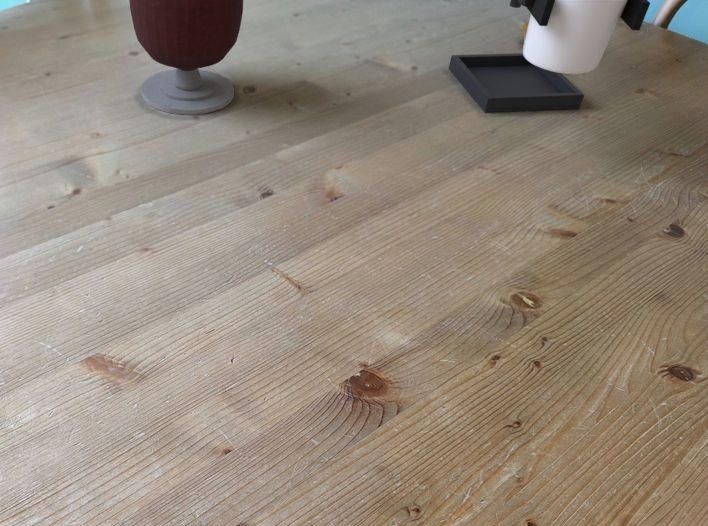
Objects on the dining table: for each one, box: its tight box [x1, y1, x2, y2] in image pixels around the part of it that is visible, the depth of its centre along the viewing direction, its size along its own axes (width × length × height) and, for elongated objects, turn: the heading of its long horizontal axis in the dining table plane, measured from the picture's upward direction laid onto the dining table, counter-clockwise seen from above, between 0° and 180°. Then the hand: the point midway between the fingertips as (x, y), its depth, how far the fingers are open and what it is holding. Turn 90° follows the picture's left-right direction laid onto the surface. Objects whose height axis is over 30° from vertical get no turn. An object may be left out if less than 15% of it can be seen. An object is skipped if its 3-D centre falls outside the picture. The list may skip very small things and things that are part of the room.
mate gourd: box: [128, 0, 244, 116], centre depth 92 cm, size 16×14×20 cm
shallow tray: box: [448, 52, 585, 113], centre depth 104 cm, size 14×14×2 cm
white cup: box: [522, 0, 628, 75], centre depth 80 cm, size 10×10×12 cm
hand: (594, 14), depth 76 cm, fingers closed on white cup, 9 cm apart
